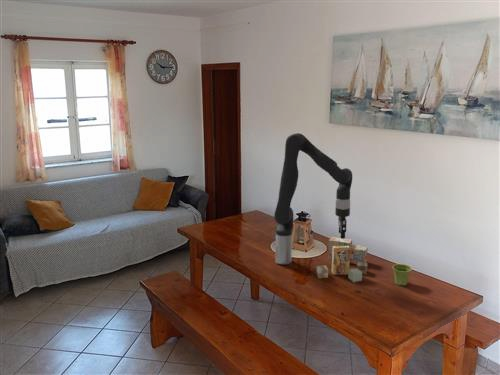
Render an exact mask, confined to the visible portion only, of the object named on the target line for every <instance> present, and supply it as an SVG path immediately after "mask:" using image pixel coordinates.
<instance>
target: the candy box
mask: <svg viewBox="0 0 500 375" xmlns="http://www.w3.org/2000/svg"><path fill="white" fill-rule="evenodd" d="M349 262H350V248H349V246H333V249H332V260H331V273H332V275H334V276H336V275H341V276H342V275H349V270H350V263H349Z"/></svg>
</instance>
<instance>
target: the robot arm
mask: <svg viewBox="0 0 500 375" xmlns="http://www.w3.org/2000/svg"><path fill="white" fill-rule="evenodd" d="M284 147H285V148H284V149H285V150H284V151H285V152H284V159H283V160H284V161H283V166H282V172H281V177H280V184H279V191H278V199H277V202H276V208H275V211H274V215H273V216H274V221H275V222H276V223H277V224H276V229H275V261H274V262H275V264H279V265H289V264H291V263H292V256H293V254H292V252H293V251H292V250H293V249H292V248H293V247H292V245H293V244H292V242H293V228H294V211H293V209H292V207H291V204H292V199H293V198H294V194H295V192H296V189H297V188H298V187H297V186H298V180H299V168H298V157H299V153H300V151H301V152H303V153H305V154H306V155H308V157H310V159H311V160H313V162H314V163H315V164H316V165H317V167H319V168H320V169H322V170H323V171H325V172H326V173H328V175H329V176H330V177H331V178H332V179H333V180H334V181H335V182H337V183H338V186H337V189H336V193H335V194H336V196H335V197H336V199H335V210H334V212H335V213H334V214H335V216H337V217H338V218H337V221H338V222H337V223H338V234H340V238H341V239H346V233H347V217H350V216H351V215H350V214H351V188H352V184H353V172H352V170H351V169H350V168H347V167H346V168H340V166H338V163H337V161H335V160H334V159H332V158H331V157H330V156H328V155H327V154H325V153H324V152H323V151H321V150H320V149H319V148H317V147H316V146H315V145H314V144H313V143H312V142H311V141H310V140H309V138H307V137H306V136H304V135H303V134H302V133H292V134H290V135H288V136H287V138H286V140H285V146H284Z"/></svg>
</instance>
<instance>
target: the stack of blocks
mask: <svg viewBox="0 0 500 375" xmlns="http://www.w3.org/2000/svg"><path fill="white" fill-rule="evenodd" d="M333 246H349V248H350V262H349V264H354V265H357V264H358V262H364V263H368V246H362V245H359V244H358V245H356V244H353V239H350V238H345V239H341V237H336V236H331V237H330V238H329V239H328V256H327V257H328V260H330V261H332V249H333Z"/></svg>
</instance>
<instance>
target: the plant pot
mask: <svg viewBox="0 0 500 375" xmlns="http://www.w3.org/2000/svg"><path fill="white" fill-rule="evenodd" d="M412 269H413V268H412V267H411V266H410V265H407V264H403V263H402V264H401V263H398V264H397V263H396V264H394V265H392V271H393V275H394V277H393V278H394V283H395V285H397V286H403V287H404V286H407V285H408V282H409V278H410V273H411V272H412Z"/></svg>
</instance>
